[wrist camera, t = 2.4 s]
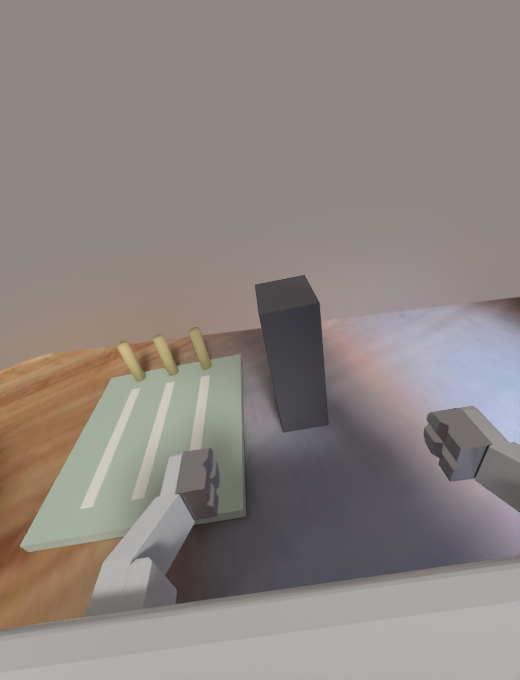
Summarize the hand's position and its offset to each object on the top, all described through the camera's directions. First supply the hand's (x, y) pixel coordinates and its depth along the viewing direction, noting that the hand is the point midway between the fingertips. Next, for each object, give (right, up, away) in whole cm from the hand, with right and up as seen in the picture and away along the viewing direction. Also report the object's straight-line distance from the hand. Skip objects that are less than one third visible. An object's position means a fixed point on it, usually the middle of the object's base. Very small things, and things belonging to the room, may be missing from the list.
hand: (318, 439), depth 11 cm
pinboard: (-12, -5, +17) cm, 21 cm away
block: (+2, -3, +17) cm, 17 cm away
